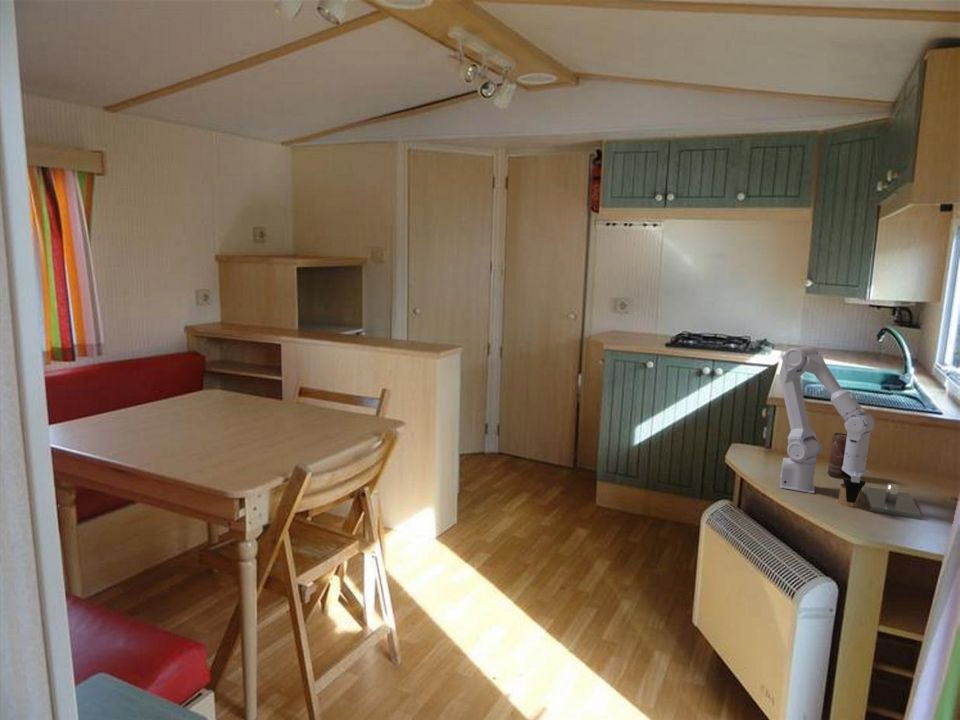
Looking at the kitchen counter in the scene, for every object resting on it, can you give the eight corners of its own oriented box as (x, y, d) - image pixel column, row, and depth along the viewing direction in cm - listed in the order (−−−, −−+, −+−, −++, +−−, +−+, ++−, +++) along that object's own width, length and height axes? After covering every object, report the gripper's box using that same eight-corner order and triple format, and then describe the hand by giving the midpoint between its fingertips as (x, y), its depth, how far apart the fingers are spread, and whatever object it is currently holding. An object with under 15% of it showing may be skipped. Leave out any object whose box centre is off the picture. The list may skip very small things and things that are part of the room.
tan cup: (839, 504, 189) (841, 488, 188) (837, 498, 194) (839, 482, 193) (860, 508, 187) (863, 491, 186) (858, 501, 192) (861, 485, 191)
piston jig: (870, 511, 185) (873, 491, 184) (863, 491, 201) (865, 472, 200) (920, 519, 180) (923, 499, 179) (908, 498, 196) (911, 479, 195)
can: (849, 480, 210) (854, 439, 208) (827, 476, 213) (832, 435, 211) (849, 475, 215) (855, 434, 213) (827, 471, 218) (833, 431, 216)
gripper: (874, 463, 180) (868, 509, 182) (868, 449, 193) (862, 493, 195) (846, 459, 183) (839, 504, 185) (841, 446, 196) (836, 488, 198)
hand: (849, 498), depth 190 cm, fingers closed on tan cup, 5 cm apart
